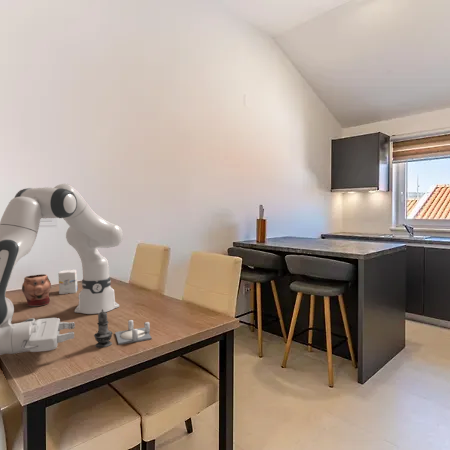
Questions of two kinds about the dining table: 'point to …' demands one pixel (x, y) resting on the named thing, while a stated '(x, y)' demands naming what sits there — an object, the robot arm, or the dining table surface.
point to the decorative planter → (36, 289)
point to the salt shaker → (103, 331)
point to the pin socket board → (123, 341)
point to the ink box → (67, 281)
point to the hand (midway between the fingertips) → (74, 329)
